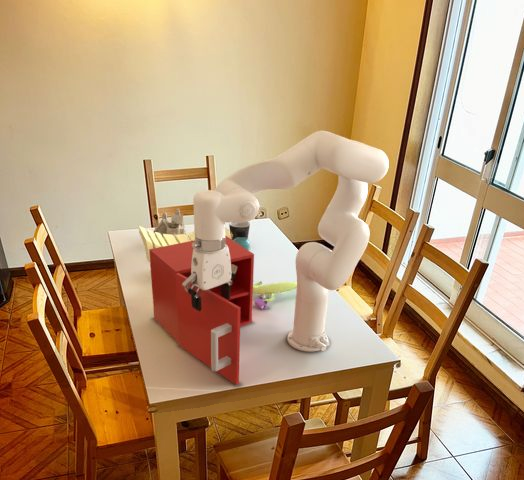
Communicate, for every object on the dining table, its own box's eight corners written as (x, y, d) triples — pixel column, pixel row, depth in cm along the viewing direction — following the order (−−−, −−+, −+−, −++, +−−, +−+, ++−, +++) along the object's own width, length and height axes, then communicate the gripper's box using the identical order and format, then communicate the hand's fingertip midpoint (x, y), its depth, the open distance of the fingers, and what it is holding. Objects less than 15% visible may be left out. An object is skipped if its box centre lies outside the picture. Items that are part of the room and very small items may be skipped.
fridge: (251, 323, 179) (254, 254, 166) (179, 344, 167) (175, 271, 154) (223, 300, 192) (223, 234, 178) (154, 318, 179) (149, 249, 166)
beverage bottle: (247, 286, 201) (248, 234, 191) (229, 283, 202) (229, 231, 192) (251, 278, 207) (252, 227, 196) (233, 276, 208) (234, 225, 197)
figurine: (321, 315, 185) (323, 300, 182) (242, 309, 186) (242, 294, 183) (320, 291, 201) (322, 277, 198) (247, 285, 202) (248, 271, 199)
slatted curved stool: (150, 289, 196) (147, 242, 186) (142, 271, 208) (138, 225, 199) (231, 279, 206) (231, 233, 196) (218, 262, 218) (218, 218, 208)
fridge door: (219, 393, 147) (219, 316, 134) (162, 352, 162) (157, 279, 149) (238, 383, 151) (240, 307, 138) (181, 344, 166) (178, 272, 153)
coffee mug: (248, 250, 229) (249, 227, 224) (228, 249, 229) (228, 226, 224) (249, 240, 239) (250, 217, 234) (229, 239, 239) (230, 217, 233)
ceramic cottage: (157, 236, 238) (156, 202, 229) (194, 241, 236) (194, 208, 227) (144, 251, 225) (141, 217, 216) (182, 258, 223) (182, 223, 214)
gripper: (191, 256, 130) (194, 319, 139) (246, 238, 140) (245, 298, 149) (172, 246, 134) (176, 308, 143) (226, 229, 144) (226, 288, 154)
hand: (211, 303), depth 146 cm, fingers open, 9 cm apart
